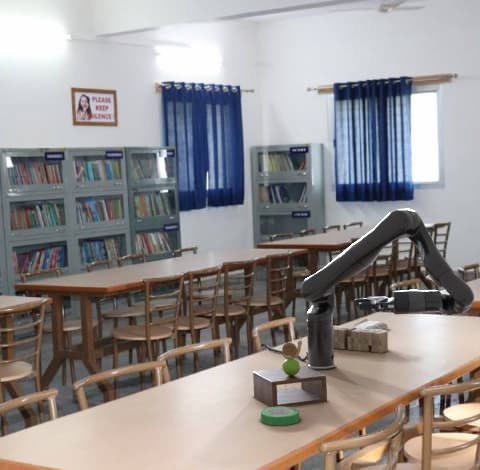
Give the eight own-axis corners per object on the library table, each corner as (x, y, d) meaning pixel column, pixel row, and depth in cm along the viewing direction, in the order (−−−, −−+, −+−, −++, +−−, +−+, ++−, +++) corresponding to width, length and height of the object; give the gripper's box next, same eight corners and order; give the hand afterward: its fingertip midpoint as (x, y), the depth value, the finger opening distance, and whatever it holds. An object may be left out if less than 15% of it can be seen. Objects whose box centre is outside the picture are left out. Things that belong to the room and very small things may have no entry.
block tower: (391, 351, 361) (325, 343, 380) (391, 330, 360) (324, 322, 379) (381, 355, 355) (314, 346, 374) (381, 333, 354) (314, 325, 373)
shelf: (254, 396, 299) (252, 371, 299) (305, 390, 304) (304, 365, 303) (272, 408, 284) (271, 381, 283) (327, 401, 288) (326, 375, 288)
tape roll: (289, 427, 263) (289, 417, 263) (254, 423, 269) (254, 414, 268) (305, 417, 272) (305, 408, 272) (271, 413, 278) (270, 404, 278)
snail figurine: (304, 377, 287) (302, 338, 286) (283, 377, 288) (281, 339, 287) (302, 373, 293) (301, 335, 292) (282, 373, 293) (280, 336, 292)
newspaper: (353, 342, 379) (353, 333, 378) (325, 340, 386) (325, 331, 386) (389, 327, 406) (388, 319, 406) (362, 326, 414) (362, 318, 414)
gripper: (403, 287, 303) (353, 289, 304) (413, 293, 289) (360, 295, 290) (404, 310, 304) (353, 312, 305) (413, 317, 290) (361, 319, 291)
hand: (357, 304), depth 298 cm, fingers open, 8 cm apart
